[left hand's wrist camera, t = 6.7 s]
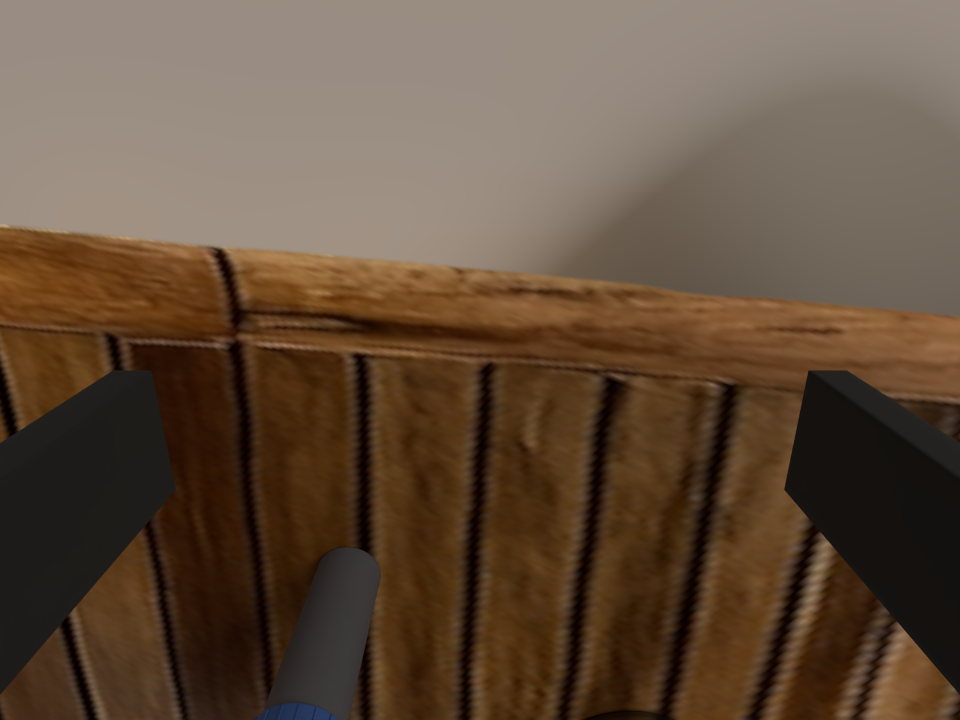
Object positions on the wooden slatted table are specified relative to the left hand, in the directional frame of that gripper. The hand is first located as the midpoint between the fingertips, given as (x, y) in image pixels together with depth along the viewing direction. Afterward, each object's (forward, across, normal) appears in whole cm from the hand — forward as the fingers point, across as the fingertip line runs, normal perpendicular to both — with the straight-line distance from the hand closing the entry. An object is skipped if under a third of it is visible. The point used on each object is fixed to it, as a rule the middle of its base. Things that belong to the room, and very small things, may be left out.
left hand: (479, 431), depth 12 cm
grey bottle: (+28, +10, +27) cm, 40 cm away
